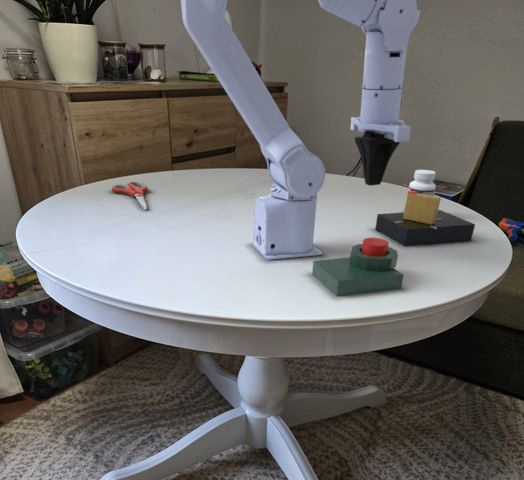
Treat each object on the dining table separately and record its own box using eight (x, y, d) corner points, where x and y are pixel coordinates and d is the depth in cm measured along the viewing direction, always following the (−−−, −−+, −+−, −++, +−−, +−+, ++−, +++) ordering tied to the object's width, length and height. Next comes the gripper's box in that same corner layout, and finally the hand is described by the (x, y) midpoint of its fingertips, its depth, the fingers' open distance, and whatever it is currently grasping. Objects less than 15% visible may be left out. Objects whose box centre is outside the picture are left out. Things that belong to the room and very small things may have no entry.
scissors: (144, 210, 98) (143, 203, 97) (108, 190, 113) (107, 183, 112) (178, 206, 102) (177, 199, 101) (139, 186, 117) (138, 180, 116)
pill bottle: (398, 213, 103) (406, 169, 98) (419, 211, 104) (427, 168, 100) (413, 220, 98) (422, 174, 94) (434, 218, 100) (444, 173, 95)
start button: (369, 258, 67) (371, 246, 66) (356, 250, 70) (358, 238, 69) (391, 256, 68) (393, 244, 67) (378, 248, 71) (380, 236, 70)
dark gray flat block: (407, 248, 83) (410, 230, 81) (375, 229, 91) (377, 213, 90) (474, 242, 87) (478, 224, 85) (437, 225, 96) (440, 209, 94)
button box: (336, 296, 64) (339, 268, 62) (311, 274, 71) (313, 247, 69) (408, 288, 68) (414, 260, 66) (378, 267, 74) (382, 242, 72)
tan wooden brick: (435, 223, 86) (441, 195, 83) (431, 225, 84) (437, 197, 82) (407, 216, 89) (412, 190, 86) (403, 218, 88) (407, 191, 85)
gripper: (435, 90, 66) (420, 191, 73) (381, 85, 78) (372, 173, 85) (389, 92, 64) (378, 196, 71) (341, 87, 76) (336, 176, 83)
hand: (372, 184), depth 78 cm, fingers closed
